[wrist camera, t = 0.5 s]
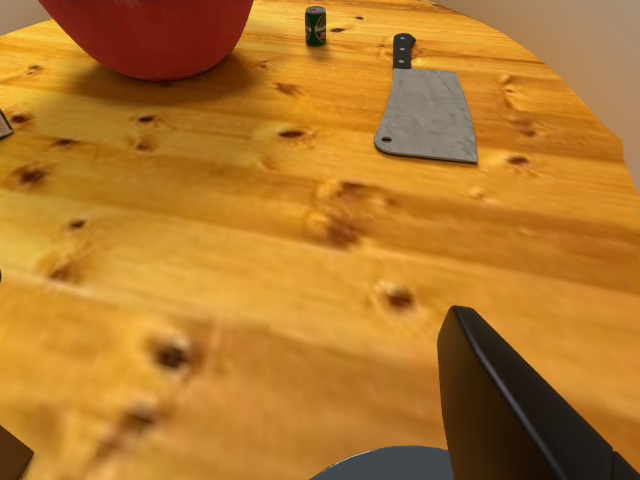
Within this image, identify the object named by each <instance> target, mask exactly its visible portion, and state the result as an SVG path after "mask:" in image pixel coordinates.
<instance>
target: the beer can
mask: <svg viewBox="0 0 640 480" xmlns="http://www.w3.org/2000/svg"><path fill="white" fill-rule="evenodd" d="M305 11H306V13H305V33H306V43H307V44H308V45H310V46H321V45H323V44H324V43H325V42H326V12H325V8H323V7H320V6H311V7H308V8H307V9H306V10H305Z"/></svg>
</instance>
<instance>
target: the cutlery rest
mask: <svg viewBox="0 0 640 480" xmlns="http://www.w3.org/2000/svg"><path fill="white" fill-rule="evenodd" d="M32 454H33V451H32V450H31V449H30V448H29V447H27V446H26V445H25V444H24V443H22V442H21V441H20V440H19V439H17V438H16V437H15V436H13V435H12V434H11V433H10V432H8V431H7V430H6V429H5V428H3V427H2V426H1V425H0V480H17V479H18V478H19V476H20V474H21V473H22V471H23V469H24V468H25V466H26V464H27V463H28V461H29V459H30V457H31V456H32Z"/></svg>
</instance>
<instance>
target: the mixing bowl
mask: <svg viewBox="0 0 640 480" xmlns="http://www.w3.org/2000/svg"><path fill="white" fill-rule="evenodd" d="M38 1H39V2H40V3H41V4H42V6H43V7H44V8H45V9H46V11H47V12H48V13H49V14H50V16H51V17H52V18H53V19H54V20H55V21H56V22H57V23H58V24H59V26H60V27H61V28H62V29H63V30H64V31H65V32H66V33H67V34H68V35H69V36H70V37H71V38H72V39H73V40H74V41H75V42H76V43H77V44H78V45H79V46H80V47H81V48H82V49H83V50H84V51H85V52H86V53H88V54H89V55H90V56H91V57H92V58H94V59H95V60H96V61H98V62H99V63H101V64H102V65H104V66H106V67H108V68H110V69H112V70H114V71H117V72H119V73H122V74H125V75H128V76H130V77H133V78H136V79H141V80H147V81H169V80H178V79H183V78H188V77H191V76H195V75H198V74H201V73H203V72H205V71H207V70H209V69H211V68H212V67H214V66H215V65H216V64H217V63H218V62H219V61H221V60H222V59H223V58H225V57H226V56H227V55H228V54H229V53H230V52H231V51H232V49H233V48H234V47H235V46H236V44H237V42H238V41H239V39H240V37H241V35H242V32H243V30H244V27H245V25H246V22H247V19H248V16H249V13H250V10H251V7H252V4H253V1H254V0H38Z"/></svg>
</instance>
